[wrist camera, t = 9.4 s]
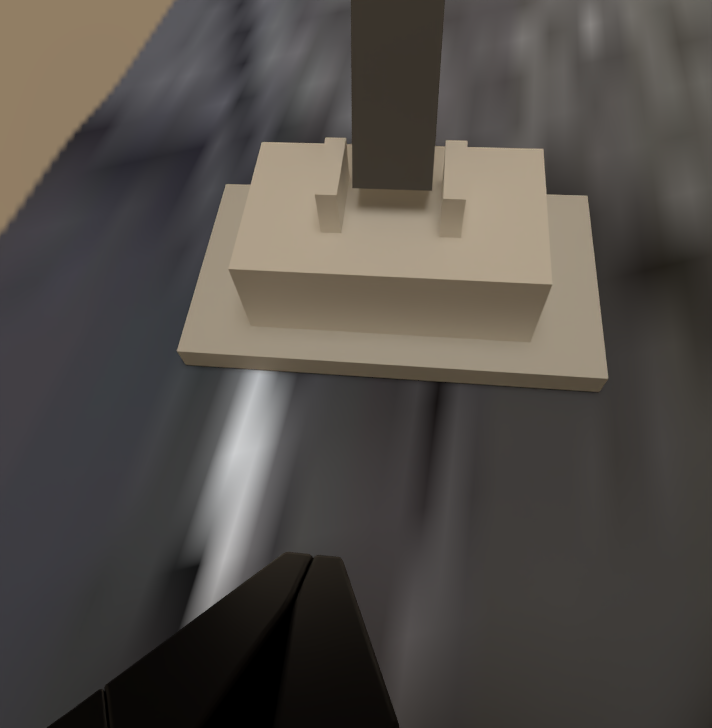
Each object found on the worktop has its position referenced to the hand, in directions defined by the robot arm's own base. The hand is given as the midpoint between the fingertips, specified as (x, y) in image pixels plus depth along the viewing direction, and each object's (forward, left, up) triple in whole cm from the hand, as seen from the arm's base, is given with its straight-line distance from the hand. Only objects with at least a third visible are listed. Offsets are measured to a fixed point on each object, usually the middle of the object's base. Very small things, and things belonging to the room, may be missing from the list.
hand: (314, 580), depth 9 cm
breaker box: (+7, +14, -14) cm, 21 cm away
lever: (+7, +14, -8) cm, 17 cm away
